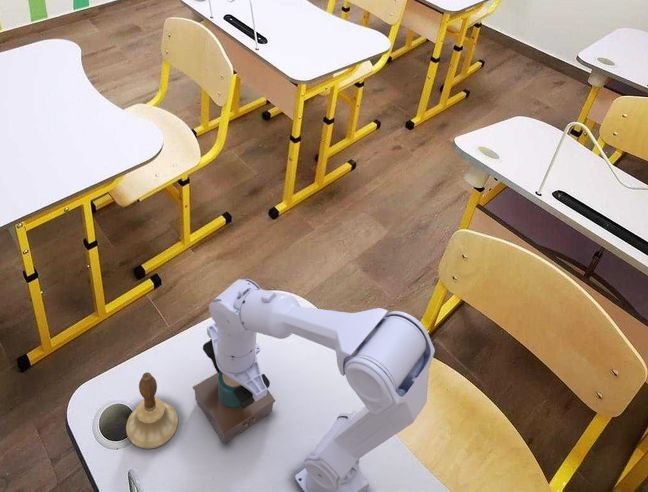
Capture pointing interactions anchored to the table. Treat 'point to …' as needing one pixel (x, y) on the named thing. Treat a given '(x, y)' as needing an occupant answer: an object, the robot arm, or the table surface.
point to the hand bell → (151, 418)
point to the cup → (227, 391)
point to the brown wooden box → (229, 409)
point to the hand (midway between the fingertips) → (234, 386)
